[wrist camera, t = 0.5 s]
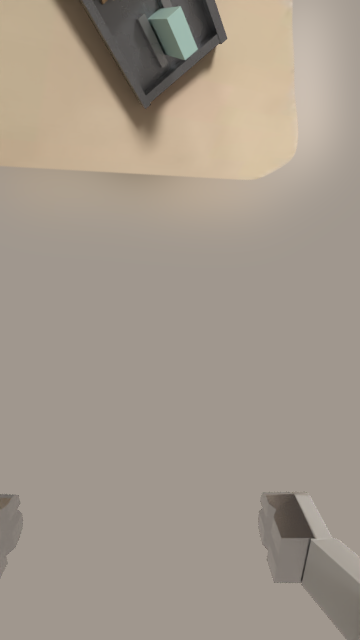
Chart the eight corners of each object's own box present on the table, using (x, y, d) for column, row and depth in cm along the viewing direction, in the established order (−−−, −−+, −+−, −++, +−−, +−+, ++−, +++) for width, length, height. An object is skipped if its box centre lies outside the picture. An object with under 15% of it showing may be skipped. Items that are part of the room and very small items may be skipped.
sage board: (147, 19, 39) (166, 18, 32) (158, 9, 38) (180, 6, 31) (163, 54, 41) (185, 60, 35) (174, 44, 41) (197, 49, 34)
